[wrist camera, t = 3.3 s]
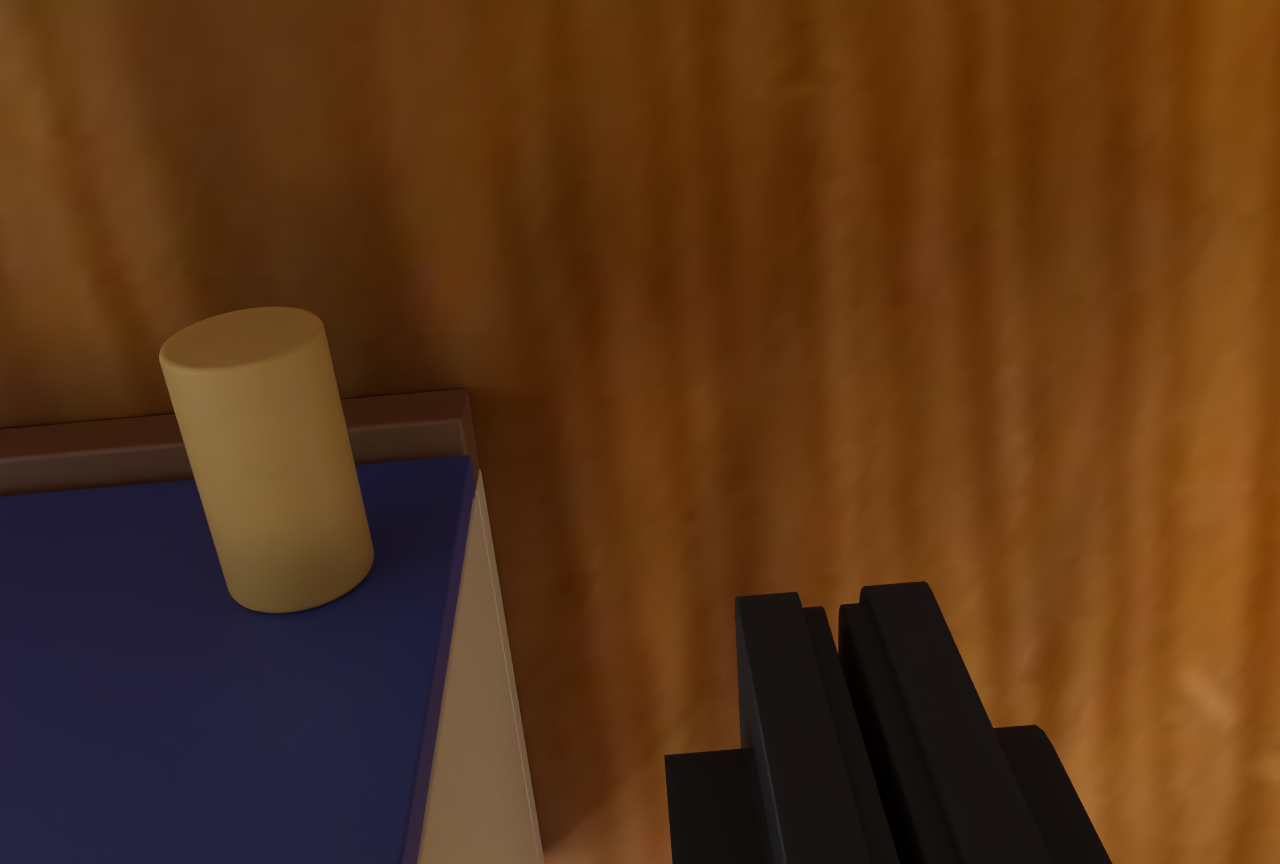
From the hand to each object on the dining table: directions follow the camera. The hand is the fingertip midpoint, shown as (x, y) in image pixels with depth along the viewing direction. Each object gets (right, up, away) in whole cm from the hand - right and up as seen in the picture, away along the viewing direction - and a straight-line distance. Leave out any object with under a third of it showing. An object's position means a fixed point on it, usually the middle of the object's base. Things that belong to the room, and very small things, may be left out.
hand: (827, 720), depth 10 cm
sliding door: (-9, +3, +8) cm, 12 cm away
